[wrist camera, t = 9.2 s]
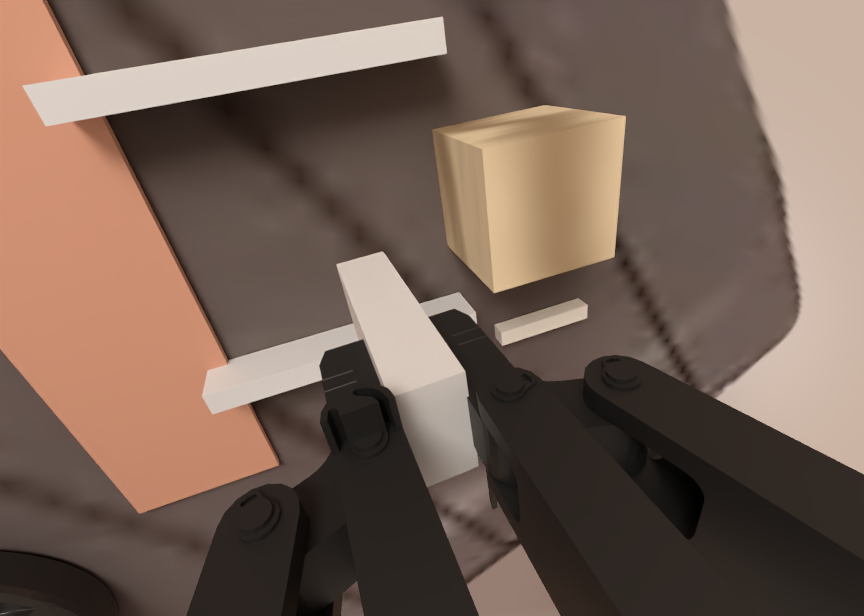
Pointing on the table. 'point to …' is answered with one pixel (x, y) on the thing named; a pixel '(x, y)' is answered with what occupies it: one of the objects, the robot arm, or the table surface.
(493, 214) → the maple block
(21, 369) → the mat
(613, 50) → the table surface
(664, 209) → the table surface
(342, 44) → the guide rails
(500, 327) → the strips
